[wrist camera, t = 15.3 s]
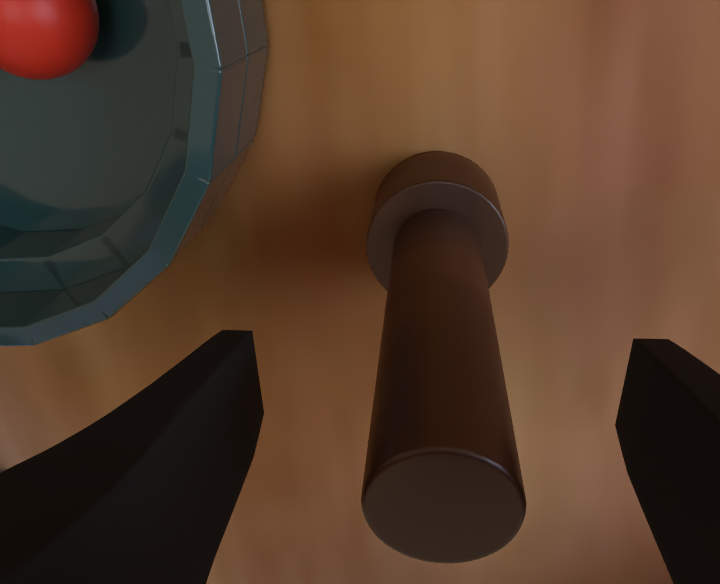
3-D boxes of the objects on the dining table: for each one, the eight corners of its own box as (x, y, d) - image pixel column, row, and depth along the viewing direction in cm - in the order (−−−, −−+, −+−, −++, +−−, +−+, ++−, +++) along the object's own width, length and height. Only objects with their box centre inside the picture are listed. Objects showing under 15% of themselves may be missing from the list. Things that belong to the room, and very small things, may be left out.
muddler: (382, 272, 19) (334, 597, 9) (365, 159, 17) (283, 413, 8) (501, 261, 18) (581, 597, 9) (495, 143, 17) (585, 396, 7)
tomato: (-27, -116, 12) (124, -46, 14) (-43, -53, 15) (87, 0, 16) (-50, 28, 12) (106, 80, 14) (-63, 68, 14) (72, 108, 16)
